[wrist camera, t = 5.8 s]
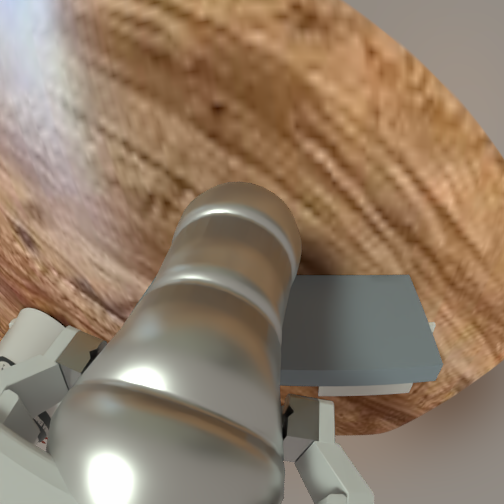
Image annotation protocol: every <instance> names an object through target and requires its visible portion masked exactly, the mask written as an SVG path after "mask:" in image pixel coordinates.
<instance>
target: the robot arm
mask: <svg viewBox="0 0 504 504" xmlns="http://www.w3.org/2000/svg"><path fill="white" fill-rule="evenodd" d="M9 327H10V329H9V330H8V332H7V333H6V335H5V336H4V337H3V339H2V340H1V342H0V504H78V503H77V501H76V500H75V499H74V497H73V496H72V495H71V493H70V492H69V490H68V488H67V486H66V484H65V482H64V480H63V478H62V476H61V474H60V472H59V469H58V467H57V466H56V463H55V461H54V459H53V457H52V456H51V455H50V454H49V453H47V452H46V451H44V450H42V449H41V448H39V447H37V446H36V445H37V443H38V442H42V443H45V442H44V441H43V440H44V439H47V440H48V438H47V437H48V433H49V427H50V421H51V417H52V415H53V414H54V412H55V411H56V409H57V408H58V406H59V405H60V403H61V402H62V400H63V399H64V397H65V395H66V394H67V392H68V391H69V389H71V388H73V386H74V384H75V383H76V381H77V380H78V379H79V377H80V376H81V375H82V374H83V373H84V371H85V370H86V369H87V368H88V367H89V365H90V364H91V363H92V362H93V361H94V359H95V358H96V357H97V356H98V355H99V353H100V352H101V351H102V350H103V349H104V348H105V346H106V345H107V342H106V341H104V340H101V339H99V338H97V337H94V336H92V335H90V334H87V333H85V332H83V331H81V330H78V329H76V328H74V327H71V326H68V327H66V328H65V327H64V326H63V325H61V324H60V323H59V322H58V321H56V320H55V319H53V318H52V317H50V316H49V315H47V314H45V313H44V312H41V311H39V310H37V309H33V308H24V309H22V310H21V311H20V313H19V315H18V317H17V318H16V319H13V320H12V321H11V322H10V324H9ZM281 416H282V433H283V450H284V461H290V462H295V466H296V468H297V470H298V472H299V474H300V476H301V478H302V480H303V482H304V484H305V486H306V488H307V490H308V492H309V494H310V496H311V498H312V500H313V502H314V504H374V493H373V492H372V490H371V489H370V488H369V486H368V485H367V483H366V482H365V481H364V479H363V478H362V476H361V475H360V473H359V472H358V470H357V469H356V468H355V466H354V465H353V463H352V462H351V461H350V459H349V458H348V456H347V455H346V453H345V452H344V450H343V449H342V447H341V446H340V444H338V443H335V418H334V403H333V401H329V400H322V399H317V398H312V397H306V396H300V395H294V394H288V395H287V396H286V398H285V402H284V405H283V406H281Z"/></svg>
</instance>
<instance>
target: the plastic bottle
mask: <svg viewBox="0 0 504 504" xmlns="http://www.w3.org/2000/svg"><path fill="white" fill-rule="evenodd" d="M301 253H302V244H301V237H300V234H299V230H298V227H297V224H296V221H295V218H294V217H293V215H292V213H291V211H290V209H289V208H288V207H287V206H286V204H285V203H284V202H283V201H282V200H281V199H280V198H279V197H278V196H276V195H275V194H274V193H272V192H271V191H269V190H267V189H265V188H263V187H261V186H258V185H255V184H252V183H245V182H228V183H223V184H219V185H217V186H215V187H213V188H211V189H209V190H207V191H205V192H204V193H202V194H201V195H199V196H198V197H197V198H195V199H194V200H193V201H192V202H190V204H189V205H188V206H187V208H186V209H185V210H184V212H183V214H182V217H181V219H180V221H179V224H178V226H177V228H176V231H175V233H174V237H173V240H172V245H171V247H170V249H169V251H168V253H167V255H166V258H165V260H164V262H163V264H162V266H161V268H160V270H159V272H158V274H157V276H156V278H155V280H154V282H153V283H152V285H151V286H150V288H149V289H148V290H147V292H146V293H145V295H144V296H143V298H142V299H141V301H140V302H139V303H138V304H137V306H136V307H135V309H134V310H133V312H132V313H131V315H130V316H129V317H128V319H127V320H126V322H125V323H124V325H123V326H122V328H121V329H120V330H119V331H118V332H117V333H116V335H115V336H114V337H113V338H112V339H111V340H110V342H109V343H108V344H107V345H106V346H105V348H104V349H103V350H102V351H101V352H100V353H99V355H98V356H97V357H96V358H95V359H94V361H93V362H92V363H91V364H90V365H89V367H88V368H87V369H86V370H85V371H84V373H83V374H82V375H81V376H80V377H79V379H78V380H77V381H76V383H75V384H74V386H73V388H71V389H69V391H68V392H67V394H66V395H65V397H64V399H63V400H62V402H61V403H60V405H59V406H58V408H57V409H56V411H55V412H54V414H53V415H52V417H51V421H50V427H49V433H48V440H47V447H46V452H47V453H49V454H50V455H51V456H52V457H53V459H54V461H55V463H56V466H57V467H58V469H59V472H60V474H61V476H62V478H63V480H64V482H65V484H66V486H67V488H68V490H69V492H70V493H71V495H72V496H73V497H74V499H75V500H76V501H77V503H78V504H281V502H282V501H283V499H284V477H285V468H284V462H283V461H284V450H283V433H282V416H281V400H280V372H281V344H282V325H283V320H284V315H285V311H286V306H287V301H288V297H289V292H290V288H291V286H292V284H293V282H294V279H295V277H296V275H297V271H298V267H299V263H300V259H301Z"/></svg>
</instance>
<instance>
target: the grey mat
mask: <svg viewBox="0 0 504 504" xmlns="http://www.w3.org/2000/svg"><path fill="white" fill-rule="evenodd" d="M428 323H429V326H430V328H431V331H432V334H433V331H434V328H435V325H436V324H435V322H428ZM412 384H413V383H404V384H390V385H370V386H319V391H318V396H364V395H384V394H399V393H409V391H410V389H411V387H412Z"/></svg>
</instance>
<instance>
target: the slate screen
mask: <svg viewBox="0 0 504 504" xmlns="http://www.w3.org/2000/svg"><path fill="white" fill-rule="evenodd" d="M155 278H156V277H155ZM154 280H155V279H154ZM154 280H153V282H154ZM153 282H152V283H153ZM152 283H151V285H152ZM151 285H150V286H151ZM150 286H149V287H148V289H149V288H150ZM148 289H147V290H148ZM147 290H146V292H147ZM146 292H145V293H146ZM145 293H144V295H145ZM144 295H143V296H144ZM143 296H142V298H143ZM142 298H141V299H142ZM141 299H140V301H141ZM140 301H139V302H140ZM139 302H138V303H139ZM136 306H137V305H136ZM134 309H135V308H134ZM132 312H133V311H132ZM130 315H131V314H130ZM442 366H443V363H442V360H441V357H440V354H439V351H438V348H437V345H436V342H435V340H434V337H433V334H432V331H431V328H430V326H429V323H428V320H427V318H426V315H425V313H424V310H423V307H422V305H421V302H420V300H419V297H418V295H417V293H416V290H415V288H414V285H413V283H412V281H411V278H410V276H409V275H296V277H295V279H294V282H293V284H292V286H291V288H290V292H289V297H288V301H287V306H286V311H285V315H284V320H283V325H282V344H281V372H280V385H284V386H370V385H390V384H404V383H416V382H427V381H435V380H436V378H437V376H438V374H439V372H440V370H441V368H442Z"/></svg>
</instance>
